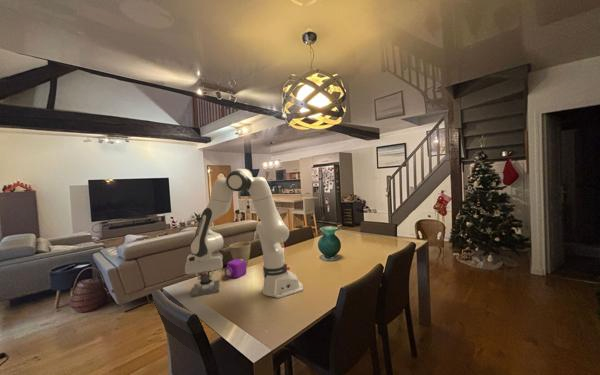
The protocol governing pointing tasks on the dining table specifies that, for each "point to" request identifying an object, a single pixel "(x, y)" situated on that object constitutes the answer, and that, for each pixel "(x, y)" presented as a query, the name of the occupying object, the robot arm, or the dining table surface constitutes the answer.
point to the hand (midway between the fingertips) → (205, 278)
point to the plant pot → (240, 251)
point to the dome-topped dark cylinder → (205, 277)
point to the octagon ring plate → (205, 288)
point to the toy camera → (235, 268)
